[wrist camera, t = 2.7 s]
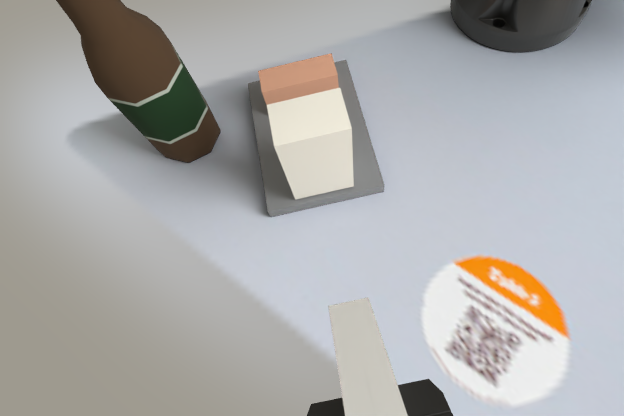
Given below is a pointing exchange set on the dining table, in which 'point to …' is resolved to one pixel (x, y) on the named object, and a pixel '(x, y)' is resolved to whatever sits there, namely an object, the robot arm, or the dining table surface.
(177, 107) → the beer bottle
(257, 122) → the base
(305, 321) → the dining table surface
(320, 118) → the cream tall block
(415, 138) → the dining table surface
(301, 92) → the peach rectangular block
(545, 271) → the dining table surface
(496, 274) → the dining table surface
